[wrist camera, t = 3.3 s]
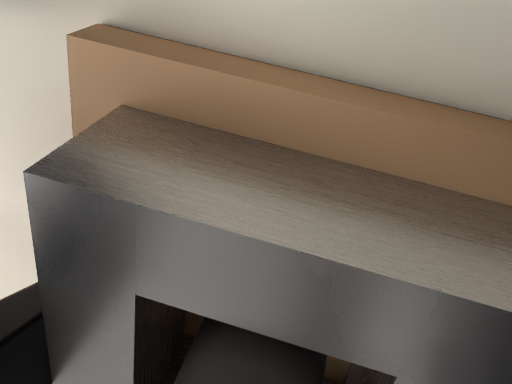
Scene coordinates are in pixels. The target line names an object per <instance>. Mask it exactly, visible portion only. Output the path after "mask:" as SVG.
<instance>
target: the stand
mask: <svg viewBox="0 0 512 384" xmlns="http://www.w3.org/2000/svg"><path fill="white" fill-rule="evenodd" d="M67 51H68V66H69V82H70V97H71V113H72V128H73V137H74V136H76V135H77V134H79V133H80V132H82V131H83V130H85V129H86V128H88V127H89V126H91V125H92V124H93V123H95V122H96V121H98V120H99V119H101V118H102V117H104V116H105V115H107V114H108V113H109V112H111V111H112V110H114V109H115V108H117V107H118V106H120V105H121V104H122V105H125V106H129V107H133V108H137V109H141V110H145V111H149V112H152V113H156V114H160V115H164V116H168V117H172V118H176V119H179V120H183V121H187V122H191V123H195V124H199V125H203V126H206V127H210V128H214V129H218V130H222V131H226V132H230V133H233V134H237V135H241V136H245V137H249V138H253V139H257V140H260V141H264V142H268V143H272V144H276V145H280V146H284V147H287V148H291V149H295V150H299V151H303V152H307V153H310V154H314V155H318V156H322V157H326V158H330V159H334V160H337V161H341V162H345V163H349V164H353V165H357V166H361V167H364V168H368V169H372V170H376V171H380V172H384V173H388V174H391V175H395V176H399V177H403V178H407V179H411V180H415V181H418V182H422V183H426V184H430V185H434V186H438V187H442V188H445V189H449V190H453V191H457V192H461V193H465V194H469V195H472V196H476V197H480V198H484V199H488V200H492V201H496V202H499V203H503V204H507V205H511V206H512V122H511V121H507V120H503V119H498V118H494V117H490V116H486V115H482V114H477V113H473V112H469V111H465V110H460V109H456V108H452V107H448V106H444V105H439V104H435V103H431V102H427V101H423V100H418V99H414V98H410V97H406V96H401V95H397V94H393V93H389V92H385V91H380V90H376V89H372V88H368V87H363V86H359V85H355V84H351V83H347V82H342V81H338V80H334V79H330V78H325V77H321V76H317V75H313V74H309V73H304V72H300V71H296V70H292V69H288V68H283V67H279V66H275V65H271V64H266V63H262V62H258V61H254V60H250V59H245V58H241V57H237V56H233V55H228V54H224V53H220V52H216V51H212V50H207V49H203V48H199V47H195V46H190V45H186V44H182V43H178V42H174V41H169V40H165V39H161V38H157V37H153V36H148V35H144V34H140V33H136V32H131V31H127V30H123V29H119V28H115V27H110V26H106V25H102V24H96V25H93V26H90V27H87V28H84V29H82V30H79V31H76V32H73V33H70V34H67ZM184 334H187V335H190V336H193V337H195V339H194V341H193V343H192V345H191V347H190V350H189V352H188V354H187V356H186V358H185V360H184V362H183V364H182V367H181V369H180V371H179V373H178V375H177V377H176V379H175V382H174V384H323V380H324V379H327V380H330V381H333V382H336V383H339V384H342V382H343V380H344V378H345V375H346V373H347V371H348V368H349V366H350V364H351V362H348V361H345V360H342V359H338V358H335V357H332V356H329V355H326V354H322V353H319V352H316V351H313V350H310V349H307V348H303V347H300V346H297V345H294V344H291V343H288V342H284V341H281V340H278V339H275V338H272V337H268V336H265V335H262V334H259V333H256V332H253V331H249V330H246V329H243V328H240V327H237V326H233V325H230V324H227V323H224V322H221V321H218V320H214V319H211V318H208V317H205V316H202V315H198V314H195V313H192V312H189V311H186V318H185V328H184Z"/></svg>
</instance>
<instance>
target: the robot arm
mask: <svg viewBox="0 0 512 384" xmlns="http://www.w3.org/2000/svg"><path fill="white" fill-rule="evenodd" d="M0 384H52V377H51V369H50V362H49V355H48V347H47V340H46V333H45V325H44V318H43V313H42V306H41V298H40V291H39V284H38V282H37V283H35V284H33V285H30V286H28V287H26V288H24V289H22V290H20V291H18V292H16V293H14V294H12V295H9V296H7V297H5V298H3V299H1V300H0Z"/></svg>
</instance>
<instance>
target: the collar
mask: <svg viewBox="0 0 512 384" xmlns="http://www.w3.org/2000/svg"><path fill="white" fill-rule="evenodd" d="M23 173H24V180H25V188H26V195H27V202H28V210H29V217H30V225H31V232H32V239H33V247H34V254H35V261H36V269H37V276H38V284H39V291H40V298H41V306H42V313H43V318H44V325H45V333H46V340H47V347H48V355H49V362H50V369H51V377H52V384H174V382H175V379H176V377H177V375H178V373H179V371H180V369H181V367H182V364H183V362H184V360H185V358H186V356H187V354H188V352H189V350H190V347H191V345H192V343H193V341H194V339H195V337H193V336H190V335H187V334H184V328H185V318H186V311H189V312H192V313H195V314H198V315H202V316H205V317H208V318H211V319H214V320H218V321H221V322H224V323H227V324H230V325H233V326H237V327H240V328H243V329H246V330H249V331H253V332H256V333H259V334H262V335H265V336H268V337H272V338H275V339H278V340H281V341H284V342H288V343H291V344H294V345H297V346H300V347H303V348H307V349H310V350H313V351H316V352H319V353H322V354H326V355H329V356H332V357H335V358H338V359H342V360H345V361H348V362H351V364H350V366H349V368H348V371H347V373H346V375H345V378H344V380H343V382H342V384H512V206H511V205H507V204H503V203H499V202H496V201H492V200H488V199H484V198H480V197H476V196H472V195H469V194H465V193H461V192H457V191H453V190H449V189H445V188H442V187H438V186H434V185H430V184H426V183H422V182H418V181H415V180H411V179H407V178H403V177H399V176H395V175H391V174H388V173H384V172H380V171H376V170H372V169H368V168H364V167H361V166H357V165H353V164H349V163H345V162H341V161H337V160H334V159H330V158H326V157H322V156H318V155H314V154H310V153H307V152H303V151H299V150H295V149H291V148H287V147H284V146H280V145H276V144H272V143H268V142H264V141H260V140H257V139H253V138H249V137H245V136H241V135H237V134H233V133H230V132H226V131H222V130H218V129H214V128H210V127H206V126H203V125H199V124H195V123H191V122H187V121H183V120H179V119H176V118H172V117H168V116H164V115H160V114H156V113H152V112H149V111H145V110H141V109H137V108H133V107H129V106H125V105H122V104H121V105H120V106H118V107H117V108H115V109H114V110H112V111H111V112H109V113H108V114H107V115H105V116H104V117H102V118H101V119H99V120H98V121H96V122H95V123H93V124H92V125H91V126H89V127H88V128H86V129H85V130H83V131H82V132H80V133H79V134H77V135H76V136H74V137H73V138H72V139H70V140H69V141H67V142H66V143H64V144H63V145H61V146H60V147H58V148H57V149H56V150H54V151H53V152H51V153H50V154H48V155H47V156H45V157H44V158H42V159H41V160H39V161H38V162H37V163H35V164H34V165H32V166H31V167H29V168H28V169H26V170H25V171H23ZM323 384H339V383H336V382H333V381H330V380H327V379H324V380H323Z"/></svg>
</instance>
